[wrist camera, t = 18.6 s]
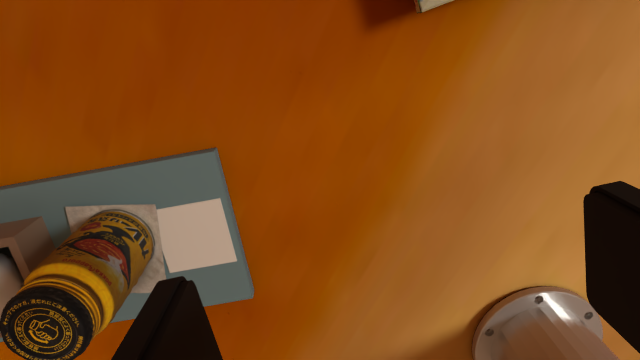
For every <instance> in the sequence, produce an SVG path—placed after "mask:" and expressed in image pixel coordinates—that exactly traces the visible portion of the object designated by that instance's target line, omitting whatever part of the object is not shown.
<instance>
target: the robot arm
mask: <svg viewBox="0 0 640 360" xmlns="http://www.w3.org/2000/svg"><path fill="white" fill-rule="evenodd" d="M584 231H585V262H586V292H587V297H588V300H589V303H590V304H589V303H588V302H587V301H586V300H585V299H583V298H582V297H581V296H579V295H578V294H576V293H574V292H572V291H570V290H567V289H563V288H559V287H547V286H542V287H535V288H529V289H526V290H522V291H519V292H517V293H514V294H512V295H510V296H508V297H506V298H505V299H503V300H502V301H500V302H499V303H497V304H496V305H495V306H494V307H493V308H492V309H491V310H489V311H488V312H487V313H486V315H485V316H484V317H483V319H482V320H481V321H480V323H479V325H478V327H477V329H476V331H475V334H474V338H473V341H472V355H473V360H620V359H619V358H618V357H617V356H616V355H615V354H614V353H613V352H612V351H611V350H610V349H609V348H608V347H607V346H606V345H605V344H604V343H603V342H602V339H603V329H602V324H601V321H600V318H599V316H598V314H599V315H600V316H601V317H602V318H603V319H604V320H605V321H606V322H607V323H609V324H610V325H611V326H612V327H613V328H614V329H615V330H616V331H617V332H618V333H619V334H620V335H621V336H622V337H623V338H624V339H625V340H626V341H627V342H628V343H629V344H630V345H631V346H632V347H633V348H634V349H636V350H637V351H638V352H639V353H640V189H638V188H635V187H633V186H631V185H629V184H627V183H625V182H622V181H618V182H613V183H608V184H604V185H599V186H595V187H593V188H592V189H591V190H590V193H589V194H587V195H586V196H585V197H584ZM597 313H598V314H597ZM111 360H223V359H222V356H221V353H220V351H219V348H218V345H217V342H216V340H215V337H214V334H213V331H212V329H211V326H210V323H209V320H208V318H207V315H206V312H205V309H204V307H203V304H202V301H201V298H200V296H199V293H198V290H197V287H196V285H195V283H194V282H193V281H192V280H189V281H187V280H186V278H185V277H183V276H179V277H175V278H170V279H165V280H161V281H158V282H157V283H156V285H155V287H154V288H153V290H152V292H151V294H150V295H149V297H148V299H147V300H146V302H145V304H144V305H143V307H142V309H141V310H140V312H139V314H138V315H137V317H136V319H135V320H134V322H133V324H132V326H131V327H130V329H129V331H128V332H127V334H126V336H125V337H124V339H123V341H122V342H121V344H120V346H119V347H118V349H117V351H116V352H115V354H114V356H113V357H112V359H111Z"/></svg>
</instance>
